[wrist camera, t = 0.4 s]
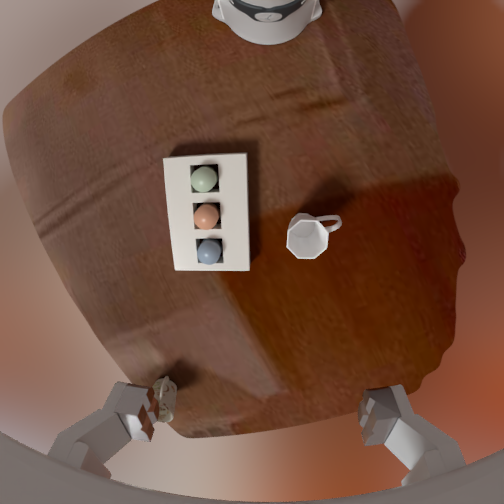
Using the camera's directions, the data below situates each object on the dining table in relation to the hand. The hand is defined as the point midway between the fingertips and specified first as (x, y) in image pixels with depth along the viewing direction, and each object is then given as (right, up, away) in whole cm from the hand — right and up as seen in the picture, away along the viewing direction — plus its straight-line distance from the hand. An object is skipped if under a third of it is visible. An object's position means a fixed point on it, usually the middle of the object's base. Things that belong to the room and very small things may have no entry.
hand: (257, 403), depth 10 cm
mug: (-23, -28, +63) cm, 72 cm away
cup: (+10, +11, +44) cm, 46 cm away
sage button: (-8, +18, +40) cm, 45 cm away
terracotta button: (-8, +12, +42) cm, 45 cm away
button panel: (-8, +13, +44) cm, 46 cm away
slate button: (-8, +6, +45) cm, 46 cm away
